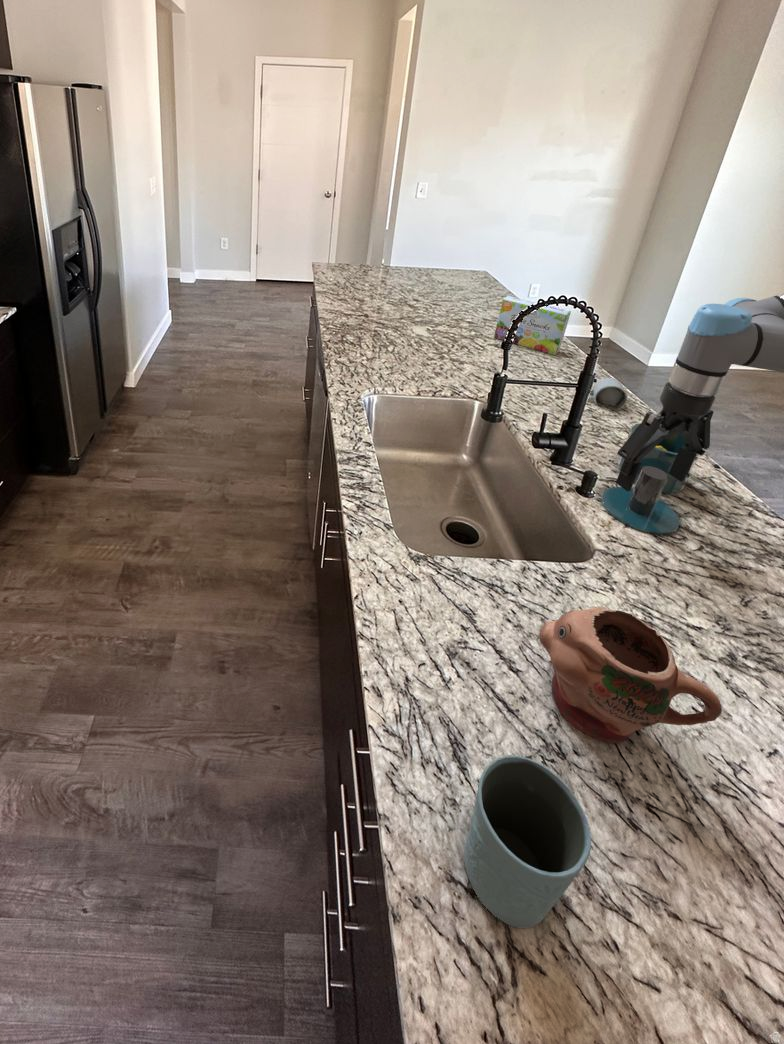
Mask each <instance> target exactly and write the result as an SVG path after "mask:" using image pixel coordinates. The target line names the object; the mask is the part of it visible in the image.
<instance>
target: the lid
mask: <svg viewBox="0 0 784 1044" xmlns="http://www.w3.org/2000/svg"><path fill="white" fill-rule="evenodd" d="M667 479H668V475H667V474H666V473H665V472H664V471H662V470H660V469H658V468H655V467H651V466H644V467H643V468H642V470H641V472H640V474H639V477H638V479H637V482H636V484H634V487H633V488H631V490H630V491H626V490H625V489H623V488H622V487H621V486H615V487H610V488H607V489H606V490H604V491H603V493H602V495H601V497H600V499H601V500H600V501H601V504H602V506H603V508H604V510H606V512H607V513H608V514H610V515H611V516H612V517H613V518H614V519H616V520H617V521H618V522H620V523H621V524H624V525H625V526H627V527H630V528H632V529H634V530H637V531H640V532H643V533H646V534H651V535H661V536H663V535H671V534H673V533H674V532H676V531H678V529H679V527H680V518H679V515H677V513H676V512H675V510H673V508H671V506H669V505H668V504H667V503H665V502H664V501H663V500H661V499H660V497H661V495H662V494H663V493H662V491H663V488H664V486H665V484H666V482H667Z"/></svg>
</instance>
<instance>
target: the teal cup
mask: <svg viewBox="0 0 784 1044" xmlns="http://www.w3.org/2000/svg"><path fill="white" fill-rule="evenodd" d="M477 786H478V787H477V791H476V796H475V803H474V806H473V813H472V818H471V821H472V822H471V825H470V828H469V831H468V833H467V835H466V840H465V845H464V851H463V857H464V858H463V859H464V861H463V862H464V867H465V871H466V875H467V877H468V878H467V879H468V881H469V883H470V885H471V888H472V890H474V891H475V892H474V891H473V892H474V893H475V896H476V895H477V896H476V898H477V899H478V898H479V899H478V901H479V900H480V901H481V902H482V903H481V902H480V901H479V902H480V903H481V905H482V904H483V905H484V906H485V907H486V908H485V907H484V906H483V905H482V906H483V907H484V908H485V910H487V909H488V910H489V911H490V912H491V913H492V914H493V915H494V916H493V915H492V914H491V913H490V912H489V911H488V910H487V911H488V912H489V913H490V914H491V915H492V916H493V917H494V918H496V917H497V918H498V919H497V918H496V919H497V920H499V919H500V920H501V921H503V922H504V923H503V922H502V923H503V924H505V923H506V924H505V925H507V924H509V925H508V926H510V925H511V926H510V927H513V926H514V927H513V928H517V927H519V928H518V929H528V928H533V927H535V926H537V925H538V924H540V923H541V922H542V921H544V919H545V917H546V916H547V915H548V914H549V912H550V911H551V909H553V907H554V906H555V905H556V904H557V903H558V901H559V899H560V898H561V897H562V896H563V895H564V893H565V892H566V891H567V889H569V887H570V885H572V883H573V881H574V880H575V879H576V877H578V875H579V873H580V872H581V871H582V869H584V867H585V865H586V863H588V860H589V859H590V855H591V851H592V834H591V828H590V825H589V824H590V823H589V822H588V818H587V816H586V813H585V811H584V809H583V807H582V805H581V804H580V801H579V800H578V798H577V797H576V795H575V794H574V792H573V791H572V790H571V788H569V786H568V785H567V784H566V783H565V781H564V780H562V779H561V777H559V776H558V775H557V774H556V773H555V772H553V771H552V770H551V769H550V768H548V767H546V766H545V765H543V764H542V763H540V762H537V761H536V760H533V759H532V758H529V757H526V756H521V755H513V754H512V755H508V754H507V755H504V756H499V757H497V758H496V759H493V760H492V761H491V762H490V763H489V764H487V766H486V767H485V768H484V769H483V771H482V773H481V775H480V777H479V781H478V785H477ZM500 920H499V921H500ZM501 921H500V922H501Z"/></svg>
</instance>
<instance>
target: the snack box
mask: <svg viewBox="0 0 784 1044" xmlns="http://www.w3.org/2000/svg"><path fill="white" fill-rule="evenodd" d="M534 303H537V302H535V301H531V300H527V299H523V298H519V297H515V296H510V295H506V296H505V297H504V298H502V301H501V305H500V310H499V314H498V319H497V323H496V327H495V330H494V331H495V332H494V335H493V338H494V339H498V340H501V341H504V339H505V337H506V335H507V332H508V330H509V328H510V325H511V322H512V321H513V320H514V319H515V318H516V316H517V315H518V314H519V313H520V312H521V311H522V310H524V309H525V308H526V307H528V306H530V305H532V304H534ZM571 312H572V311H571V310H568V309H565V308H562V307H561V308H560V307H556V306H552V305H548V306H547V307H544V308H541V309H538V310H536V311H534V312H533V313H531V314H529V315H527V316H526V317H525V318H524V319H523V320H522V322H521V323H520V325H519V327H518V329H517V332H516V334H515V338H514V341H513V343H512V344H515V345H519V346H522V347H525V348H529V349H532V350H535V351H538V352H542V353H545V354H550V355H552V356H556V355H557V354H558V353H559V352H560V350H561V347H562V344H563V340H564V337H565V333H566V330H567V326H568V323H569V320H570V318H571Z"/></svg>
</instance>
